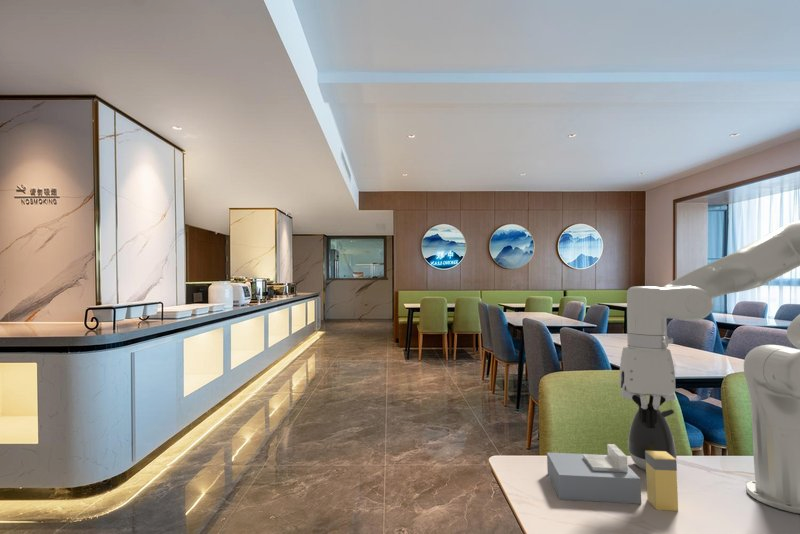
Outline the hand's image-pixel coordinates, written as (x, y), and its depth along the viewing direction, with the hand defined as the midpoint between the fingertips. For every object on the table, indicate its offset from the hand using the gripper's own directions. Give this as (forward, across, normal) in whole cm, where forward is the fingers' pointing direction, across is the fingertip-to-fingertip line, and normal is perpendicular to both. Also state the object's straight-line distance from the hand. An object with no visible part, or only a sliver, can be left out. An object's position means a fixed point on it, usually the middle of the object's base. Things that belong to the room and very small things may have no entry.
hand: (647, 426), depth 91 cm
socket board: (+14, +12, 0) cm, 19 cm away
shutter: (+9, +9, 0) cm, 13 cm away
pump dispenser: (+14, -6, -12) cm, 19 cm away
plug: (+14, 0, +6) cm, 15 cm away
